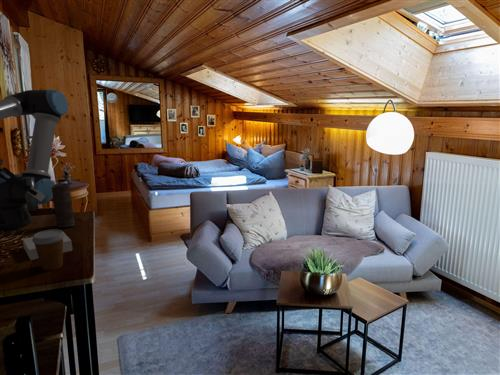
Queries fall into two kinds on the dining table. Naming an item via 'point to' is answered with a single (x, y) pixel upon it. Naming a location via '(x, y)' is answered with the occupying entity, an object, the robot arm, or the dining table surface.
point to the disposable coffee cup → (49, 248)
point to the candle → (63, 205)
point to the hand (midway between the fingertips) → (42, 197)
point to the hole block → (32, 251)
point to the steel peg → (30, 200)
